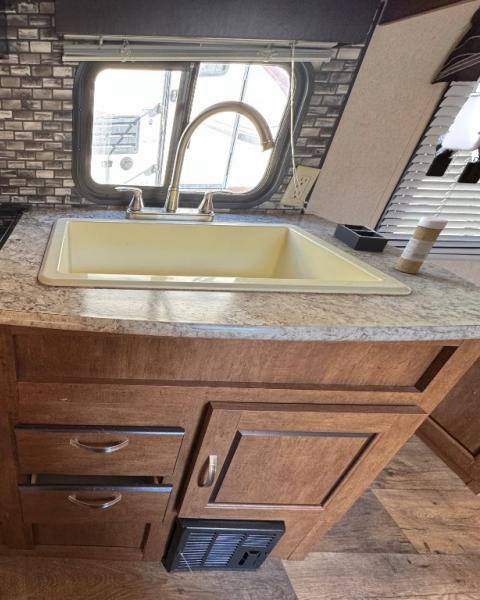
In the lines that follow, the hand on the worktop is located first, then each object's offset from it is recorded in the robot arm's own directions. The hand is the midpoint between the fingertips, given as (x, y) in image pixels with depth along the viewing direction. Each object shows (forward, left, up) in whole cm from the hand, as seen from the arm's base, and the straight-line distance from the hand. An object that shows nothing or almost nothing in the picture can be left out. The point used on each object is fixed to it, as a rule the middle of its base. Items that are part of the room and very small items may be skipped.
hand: (448, 179), depth 70 cm
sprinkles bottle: (-2, 0, -22) cm, 22 cm away
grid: (0, -21, -22) cm, 31 cm away
